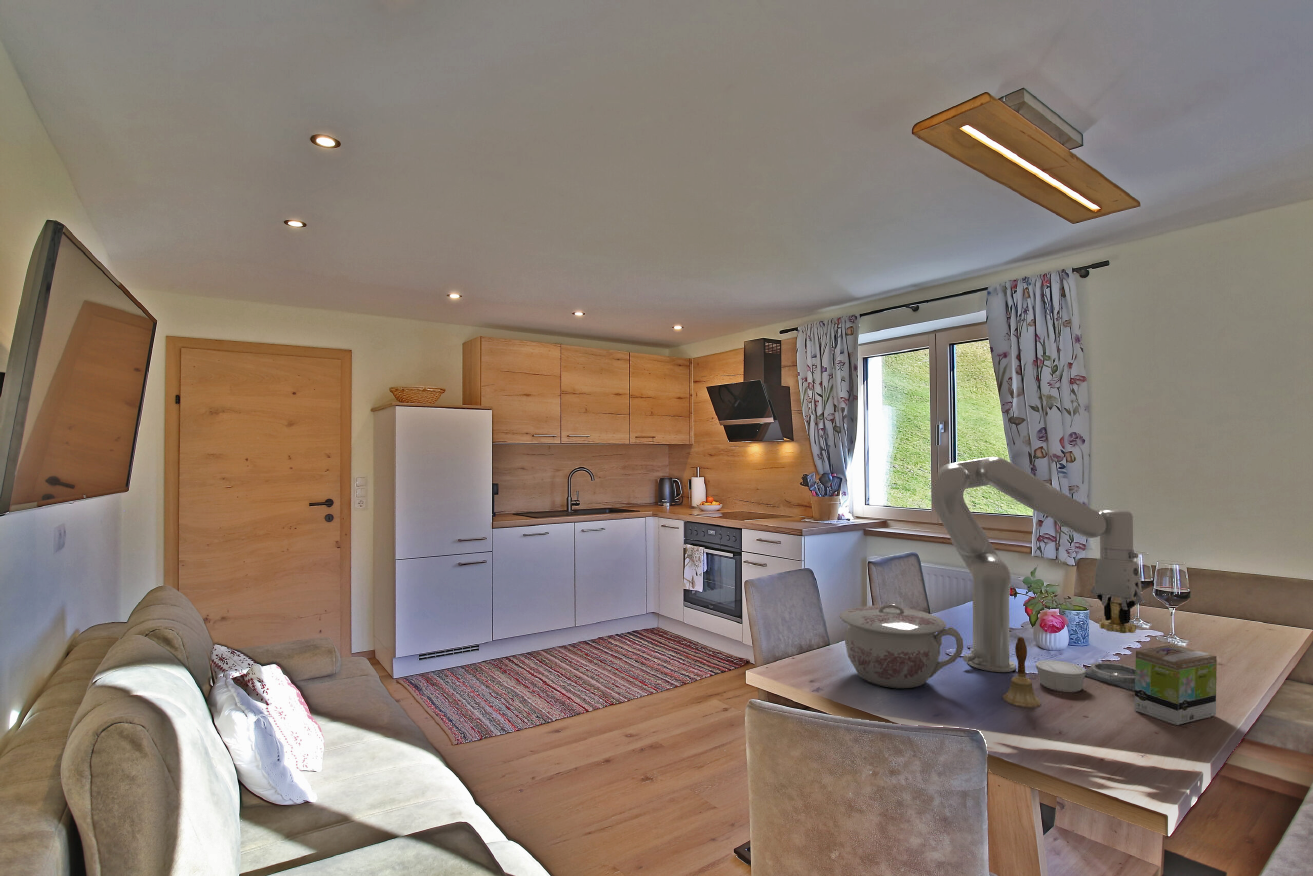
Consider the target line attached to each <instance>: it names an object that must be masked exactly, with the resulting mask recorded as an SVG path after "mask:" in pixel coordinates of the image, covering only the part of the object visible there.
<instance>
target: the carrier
mask: <svg viewBox="0 0 1313 876" xmlns="http://www.w3.org/2000/svg"><path fill="white" fill-rule="evenodd" d="M1085 671H1086V675H1085V676H1084V677H1086V676H1087V677H1086V678H1090V679H1093V680H1097V681H1100V682H1103V683H1106V684H1110V685H1113V686H1116V687H1119V688H1122V689H1125V690H1129V691H1132V692H1135V667H1132V666H1128V665H1125V664H1121V663H1114V662H1102V661H1101V662H1093V663H1090V667H1089V668H1087V669H1085Z"/></svg>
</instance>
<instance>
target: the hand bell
mask: <svg viewBox="0 0 1313 876" xmlns="http://www.w3.org/2000/svg"><path fill="white" fill-rule="evenodd" d="M1014 649H1015V651H1014V652H1015V657H1016V660H1017V675H1016V676H1013V677H1012V678H1011V682H1010V686H1009V689H1008V691H1006V693H1004V694H1003V696H1002V699H1003V700H1004V701H1005V702H1006V703H1008V704H1010V705H1013V706H1017V707H1022V708H1030V709H1032V707H1034V708H1037V707H1040V706H1041V704H1042V703H1041V701H1040V699H1039V698H1037V697H1038V696H1037V695H1035V692H1034V686H1033V682H1032V680H1031V679H1029V678H1028V677H1027V674H1026V659H1027V656H1028V648H1027V644H1026V641H1025V638H1024V637H1022V636H1018V637H1017V639H1016V643H1015V647H1014Z"/></svg>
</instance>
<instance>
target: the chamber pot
mask: <svg viewBox="0 0 1313 876" xmlns="http://www.w3.org/2000/svg"><path fill="white" fill-rule="evenodd" d="M839 618H840V619H841V621H842V622H843V623H845V624H847V625H848V627H847V628H846V631H845V633H844V644H845V645H844V646H845V650H846V653H847V658H848V659H849V661H850V662H851V664H852V666H853V668H854V669H855V671H856V673H857V674H858V675H859V677H861V678H862V679H863V680H865V681H867V682H868V683H871V684H874V685H876V686H879V687H883V688H888V689H895V690H896V689H898V690H903V689H904V690H905V689H912V688H917V687H921V686H923V684H925V683H926V682H927V681H928V680H929V679H931V678H932V677H933V676H935V675H936V674H937V673H938V672H939V671H940V670H941V669H943V668H944V667H946V666H948V665H949V666H950V664H953V663H954V662H956V660H957V659H958V658H959V657H960V656H962V654H963V650H964V639H963V637H962V635H961V633H959V631H958V630H957V629H955V628H954V627H953V626H949V627H947V622H945V621H944V620H943V619H942V618H941V617H938V616H936V615H933V614H931V613H928V612H925V611H920V610H917V609H913V608H909V607H907V608H906V607H901V606H899V605H897V604H894V603H886V604H883V605H868V606H867V605H865V606H858V607H851V608H848V609H846V610H843V611H841V612H840V615H839ZM944 636H950V637H953V638H954V639H955V641H956V642H955V644H956V648H955V652H954V653H953V654H952V655H951V656H949V657H948V658H946V659H943V660H940V657H941V647H942V646H943V637H944Z"/></svg>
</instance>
